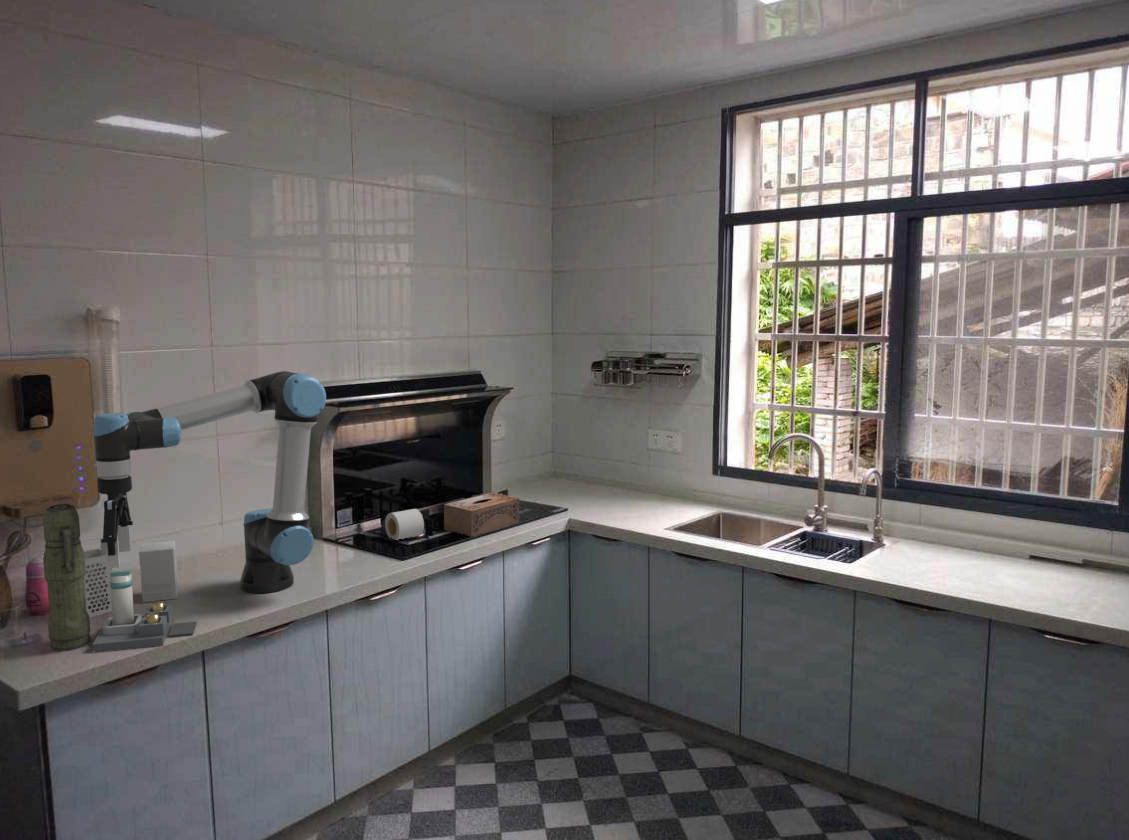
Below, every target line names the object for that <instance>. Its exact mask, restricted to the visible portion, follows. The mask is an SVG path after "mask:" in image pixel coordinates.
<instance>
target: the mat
mask: <svg viewBox="0 0 1129 840" xmlns="http://www.w3.org/2000/svg"><path fill="white" fill-rule="evenodd" d="M197 623H198V622H197V621H186V622H175V623H174V622H173V623H172V625H171V627H170V630H169V632H168V638H179V637H187V636H193V635H194V633H195V629H196V626H197Z"/></svg>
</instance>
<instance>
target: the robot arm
mask: <svg viewBox="0 0 1129 840" xmlns="http://www.w3.org/2000/svg"><path fill="white" fill-rule="evenodd" d="M326 401H327V393H326V390H325V387H324V386H323V384H322V383H321V381H320V380H318V379H317V378H316V377H314V376H311V375H309V374H306V373H300V372H299V373H298V372H291V371H287V370H284V371H277V372H273V373H269V374H266V375H263V376H260V377H257V378H252V379H249V380H246V381H245V382H244V384H243V385H240V386H237V387H233V388H229V389H226V390H225V389H224V390H221V391H217V392H214V393H210V394H206V395H201V396H197V397H195V398H194V397H193V398H191V399H187V400H183V401H179V402H175V403H172V404H168V405H163V406H161V407H155V408H152V409H148V410H144V411H131V412H128V413H122V412H121V413H120V412H115V413H113V412H112V413H109V412H108V413H102V414H98V415H96V416H95V417H94V419H93V437H94V448H95V449H94V450H95V463H94V464H93V467H94V468H96V476H97V477H98V478H97V480H96V482H97V492H98V494H100V495H107V500H105V501H103V529H102V538H101V542H102V543H105V546H106V562H107V568H112V569H114V568H120V567H121V565H120V564H121V563H120V553H124V552H132V546H131V532H130V531H131V528H130V527H131V526H133V524H134V521H133V520H132V517H131V512H130V506H129V501H128V494H127V493H129V492H130V491H132V489H133V484H132V483H133V481H132V480H133V479H132V476H131V474H132V461H131V460H132V459H131V451H140V450H150V449H151V450H152V449H163V448H164V449H166V448H170V447H176V446H178V445H179V444H180V443H181V440H182V431H183V430H187V429H190V428H194V427H197V426H198V427H199V426H201V425H202V426H203V425H205V424H209V423H213V422H216V421H220V420H223V419H226V418H230V417H234V416H237V415H241V414H244V413H249V412H251V411H252V412H253V413H256V414H258V413H261V412H266V411H274V421H275V422H276V423H277V424H278V427H279V428H278V439H277V441H278V442H277V450H276V451H277V452H276V453H277V454H276V464H275V476H274V489H273V498H272V499H273V501H272V507H270V508H261V509H255V510H251V511H248V512H247V513H245V514H244V517H243V524H242V525H243V532H244V533H243V534H244V535H243V536H244V551H245V552H244V554H245V563H244V566H243V569H242V573H241V577H240V583H239V585H240V589H241V591H244V592H248V593H254V594H255V593H256V594H265V593H273V592H274V593H275V592H279V591H282V590H286V589H288V588H290V587H291V586H293V585H294V582H295V579H294V572H293V570H292V568H291V566H294V565H297V564H300V563H302V562H303V561H304V560H306V558H307V557H309V555H310V554H311V553H312V550H313V548H314V544H315V541H314V535H313V533H312V532H311V530H310V529H309V522H310V521H309V520H310V516H309V514H307V512H306V511H305V503H306V491H307V482H308V481H307V478H308V469H309V468H308V467H309V458H310V457H309V456H310V444H311V431H312V428H313V427H314V426H315V425H316V424H317V423H318V418H319V417H318V416H319V414H320V412H321V411H323V409H324V408H325V406H326V403H327V402H326Z"/></svg>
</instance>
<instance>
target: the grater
mask: <svg viewBox="0 0 1129 840" xmlns="http://www.w3.org/2000/svg"><path fill="white" fill-rule="evenodd" d="M101 539H102V537H99V536H97V535H94V536H89V537H84V538H83V537H82V538H80V541H81V543H85V542H90V541H97V540H99V542H100V549H99V548H96V549H91V550H86V551H85V550H84V554H85V568H86V574H85V576H84V584H85V598H86V611H87V613H88V615H89V618H93V617H96V616H95V615H97V616H99V615H98V614H101V615H103V614H102V613H104V614H108V613H112V612H111V611H112V601H111V588H110V572H111V571H113V568H107V562H106V546H105V543H102V542H101ZM105 599H106V600H105ZM101 600H103V601H101ZM97 601H98V602H97ZM108 601H109V602H108ZM95 602H96V603H95ZM90 603H92V604H90ZM103 603H105V604H104V605H103ZM99 604H100V606H99ZM94 605H95V607H93V606H94ZM89 607H91V608H89ZM106 607H107V608H106ZM101 608H103V609H101ZM97 609H98V611H97ZM93 610H94V612H93ZM107 612H108V613H107ZM92 616H93V617H92Z"/></svg>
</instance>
